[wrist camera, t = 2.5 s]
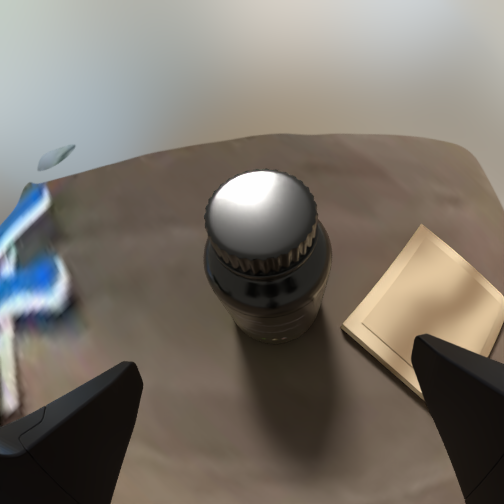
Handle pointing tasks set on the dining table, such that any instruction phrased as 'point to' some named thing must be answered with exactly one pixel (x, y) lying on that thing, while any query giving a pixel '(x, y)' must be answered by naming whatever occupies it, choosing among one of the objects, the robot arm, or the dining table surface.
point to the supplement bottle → (267, 254)
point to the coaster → (426, 306)
